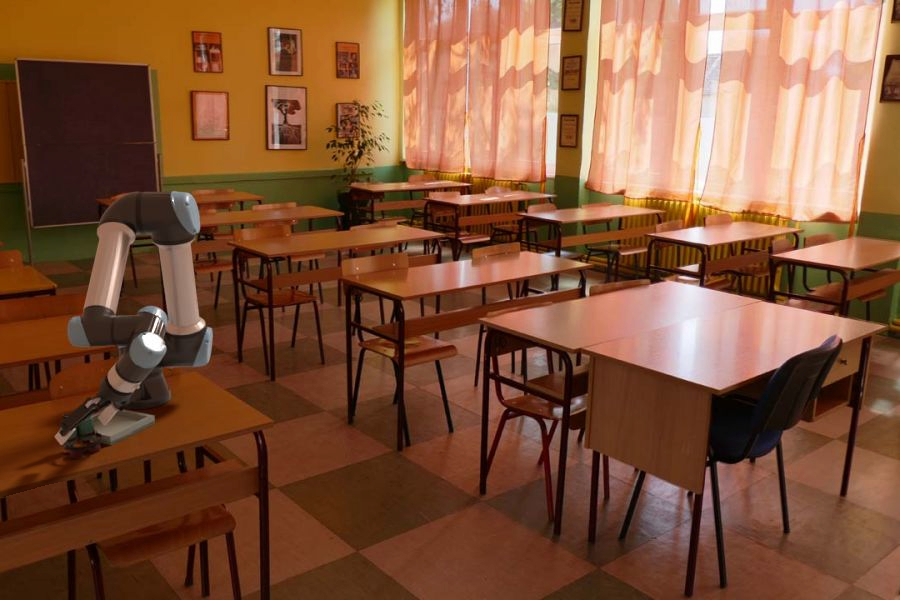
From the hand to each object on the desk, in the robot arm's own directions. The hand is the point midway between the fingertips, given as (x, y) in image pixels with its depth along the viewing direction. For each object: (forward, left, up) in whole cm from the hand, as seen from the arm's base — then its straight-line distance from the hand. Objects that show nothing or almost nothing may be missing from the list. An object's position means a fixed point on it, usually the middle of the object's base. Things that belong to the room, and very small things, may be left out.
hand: (81, 430), depth 199 cm
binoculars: (-1, -1, -7) cm, 7 cm away
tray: (-15, -6, -6) cm, 17 cm away
